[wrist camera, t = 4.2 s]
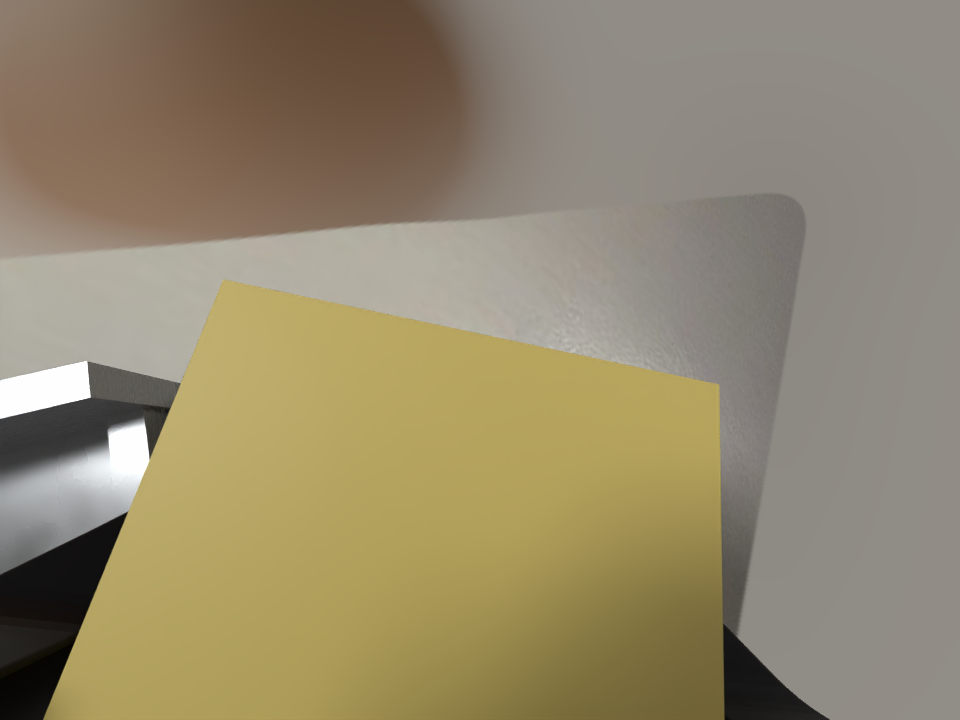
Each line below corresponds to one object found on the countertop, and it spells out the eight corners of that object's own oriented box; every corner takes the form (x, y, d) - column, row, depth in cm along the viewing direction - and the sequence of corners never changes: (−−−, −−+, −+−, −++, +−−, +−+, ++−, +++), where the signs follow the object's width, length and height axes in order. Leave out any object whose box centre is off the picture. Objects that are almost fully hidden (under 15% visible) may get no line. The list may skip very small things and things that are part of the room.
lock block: (488, 543, 15) (727, 929, 3) (349, 523, 14) (-32, 902, 2) (505, 429, 16) (719, 384, 4) (378, 405, 16) (223, 279, 4)
